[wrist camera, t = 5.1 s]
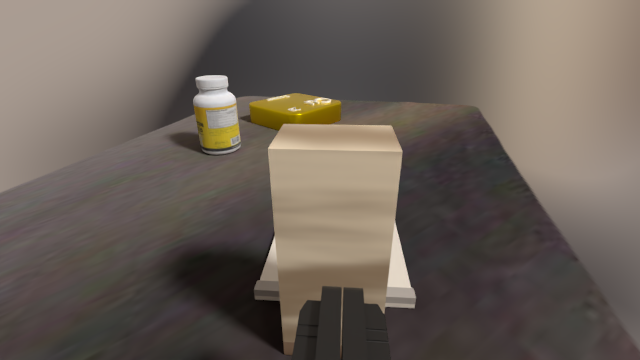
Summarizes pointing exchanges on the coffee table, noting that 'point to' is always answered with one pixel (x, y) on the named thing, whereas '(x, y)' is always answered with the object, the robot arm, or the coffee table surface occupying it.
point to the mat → (396, 288)
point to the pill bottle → (216, 116)
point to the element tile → (295, 111)
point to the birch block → (332, 213)
